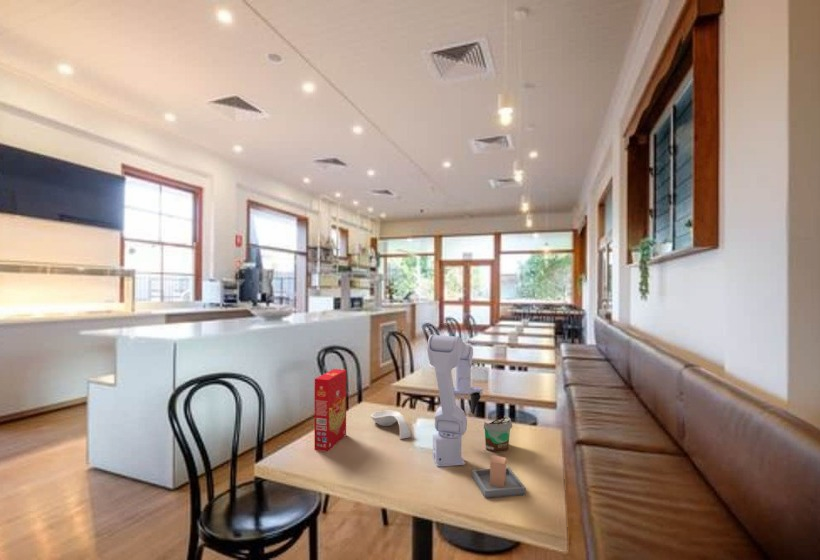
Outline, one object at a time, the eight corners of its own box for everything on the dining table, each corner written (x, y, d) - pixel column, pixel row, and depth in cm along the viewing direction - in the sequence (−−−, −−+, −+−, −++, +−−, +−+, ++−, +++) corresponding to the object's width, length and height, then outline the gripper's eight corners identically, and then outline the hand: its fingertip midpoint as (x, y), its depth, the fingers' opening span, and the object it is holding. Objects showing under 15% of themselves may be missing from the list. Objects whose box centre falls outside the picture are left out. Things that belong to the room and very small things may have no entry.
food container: (497, 457, 137) (497, 428, 137) (483, 450, 142) (483, 422, 142) (519, 447, 145) (519, 419, 145) (505, 441, 150) (505, 414, 149)
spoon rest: (366, 421, 169) (366, 404, 169) (391, 416, 175) (391, 400, 175) (392, 442, 149) (392, 423, 149) (419, 436, 155) (419, 417, 154)
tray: (485, 498, 112) (485, 491, 112) (472, 476, 124) (472, 469, 124) (525, 494, 114) (525, 488, 114) (509, 473, 126) (509, 467, 126)
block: (490, 485, 118) (490, 461, 118) (492, 478, 122) (492, 455, 122) (503, 487, 117) (504, 463, 116) (505, 481, 120) (506, 457, 120)
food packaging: (328, 451, 140) (328, 379, 140) (314, 449, 142) (314, 378, 141) (346, 434, 155) (346, 369, 154) (333, 433, 156) (333, 368, 155)
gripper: (478, 373, 154) (478, 408, 154) (441, 374, 152) (440, 410, 152) (484, 378, 147) (484, 415, 147) (445, 379, 145) (445, 417, 145)
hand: (462, 413), depth 149 cm, fingers open, 7 cm apart
